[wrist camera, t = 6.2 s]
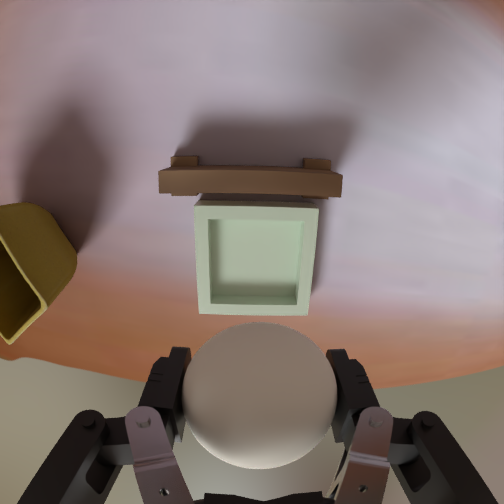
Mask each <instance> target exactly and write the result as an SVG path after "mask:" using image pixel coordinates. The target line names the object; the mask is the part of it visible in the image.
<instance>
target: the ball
mask: <svg viewBox="0 0 504 504" xmlns="http://www.w3.org/2000/svg"><path fill="white" fill-rule="evenodd" d="M181 396H182V408H183V412H184V416H185V419H186V422H187V424H188V426H189V428H190V430H191V432H192V433H193V435H194V436H195V438H196V439H197V440H198V442H199V443H200V444H201V445H202V446H203V447H204V448H205V449H206V450H208V451H209V452H210V453H211V454H213V455H215V456H216V457H217V458H219V459H221V460H223V461H225V462H227V463H230V464H233V465H235V466H239V467H243V468H250V469H268V468H275V467H279V466H283V465H286V464H288V463H291V462H293V461H295V460H297V459H299V458H301V457H302V456H304V455H305V454H307V453H308V452H309V451H311V450H312V449H313V448H314V447H315V446H316V445H317V444H318V443H319V442H320V441H321V440H322V438H323V437H324V436H325V434H326V433H327V431H328V429H329V427H330V425H331V423H332V421H333V418H334V415H335V411H336V406H337V384H336V379H335V375H334V372H333V370H332V367H331V365H330V363H329V361H328V359H327V358H326V356H325V355H324V353H323V352H322V350H321V349H320V348H319V347H318V346H317V345H316V344H315V343H314V342H313V341H312V340H310V339H309V338H308V337H307V336H305V335H303V334H302V333H300V332H298V331H296V330H294V329H292V328H290V327H287V326H284V325H280V324H275V323H269V322H251V323H244V324H240V325H236V326H233V327H230V328H228V329H225V330H223V331H221V332H220V333H218V334H216V335H215V336H213V337H212V338H211V339H209V340H208V341H207V342H206V343H205V344H204V345H203V346H202V347H201V348H200V349H199V350H198V351H197V352H196V354H195V355H194V357H193V358H192V360H191V362H190V364H189V365H188V367H187V370H186V373H185V376H184V379H183V385H182V395H181Z"/></svg>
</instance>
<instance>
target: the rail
mask: <svg viewBox="0 0 504 504" xmlns="http://www.w3.org/2000/svg"><path fill="white" fill-rule="evenodd" d="M330 169H331V161H330V160H322V159H308V158H303V168H299V167H278V166H245V165H198V156H175V157H171V167H169V168H166V169H163V170H160V171H158V175H159V193H171V195H172V196H197V195H198V194H199V193H250V194H284V195H301V196H302V198H313V199H328V197H341V192H342V179H343V175H341V174H338V173H336V172H333V171H331V170H330Z"/></svg>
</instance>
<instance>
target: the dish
mask: <svg viewBox="0 0 504 504" xmlns="http://www.w3.org/2000/svg"><path fill="white" fill-rule="evenodd" d="M318 214H319V208H318V207H317V206H316V205H315V204H314V203H304V202H279V201H240V200H198V202H197V203H196V204H195V205H194V224H195V251H196V271H197V288H198V304H199V314H225V315H308V307H309V300H310V292H311V283H312V275H313V266H314V257H315V247H316V237H317V226H318Z"/></svg>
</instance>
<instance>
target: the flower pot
mask: <svg viewBox="0 0 504 504" xmlns="http://www.w3.org/2000/svg"><path fill="white" fill-rule="evenodd" d="M76 267H77V253H76V251H75V249H74V248H73V246H72V245H71V243H70V242H69V241H68V239H67V238H66V236H65V235H64V233H63V232H62V230H61V229H60V227H59V226H58V224H57V222H56V221H55V219H54V218H53V216H52V215H51V214H50V213H49V212H48V211H47V210H45V209H44V208H42V207H41V206H38V205H36V204H32V203H26V202H21V203H14V204H7V205H2V206H0V335H1V337H2V338H3V339H4V340H5V341H6V342H7V343H8V344H12V343H13V342H14V341H15V340H16V339H17V338H18V337H19V336H20V335H21V334H22V333H23V332H24V331H25V329H26V328H27V327H28V326H30V325H31V324H32V323H33V322H34V321H35V320H36V319H37V318H38V317H39V316H40V315H42V314H43V313H44V312H45V311H46V310H47V309H48V307H49V306H50V305H51V304H52V302H53V301H54V300H55V299H56V297H57V296H58V295H59V294H60V292H61V291H62V290H63V289H64V288H65V286H66V285H67V284H68V283H69V281H70V280H71V278H72V277H73V275H74V273H75V270H76Z"/></svg>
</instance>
